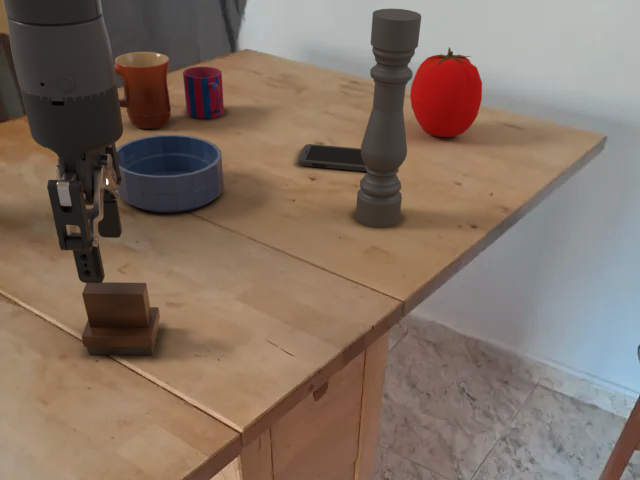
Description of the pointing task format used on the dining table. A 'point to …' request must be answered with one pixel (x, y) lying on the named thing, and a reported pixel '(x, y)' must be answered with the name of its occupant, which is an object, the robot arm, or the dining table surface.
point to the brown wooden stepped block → (119, 319)
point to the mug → (145, 88)
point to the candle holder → (387, 116)
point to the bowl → (169, 173)
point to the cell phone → (332, 157)
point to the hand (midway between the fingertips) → (102, 257)
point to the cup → (203, 92)
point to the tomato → (446, 94)
